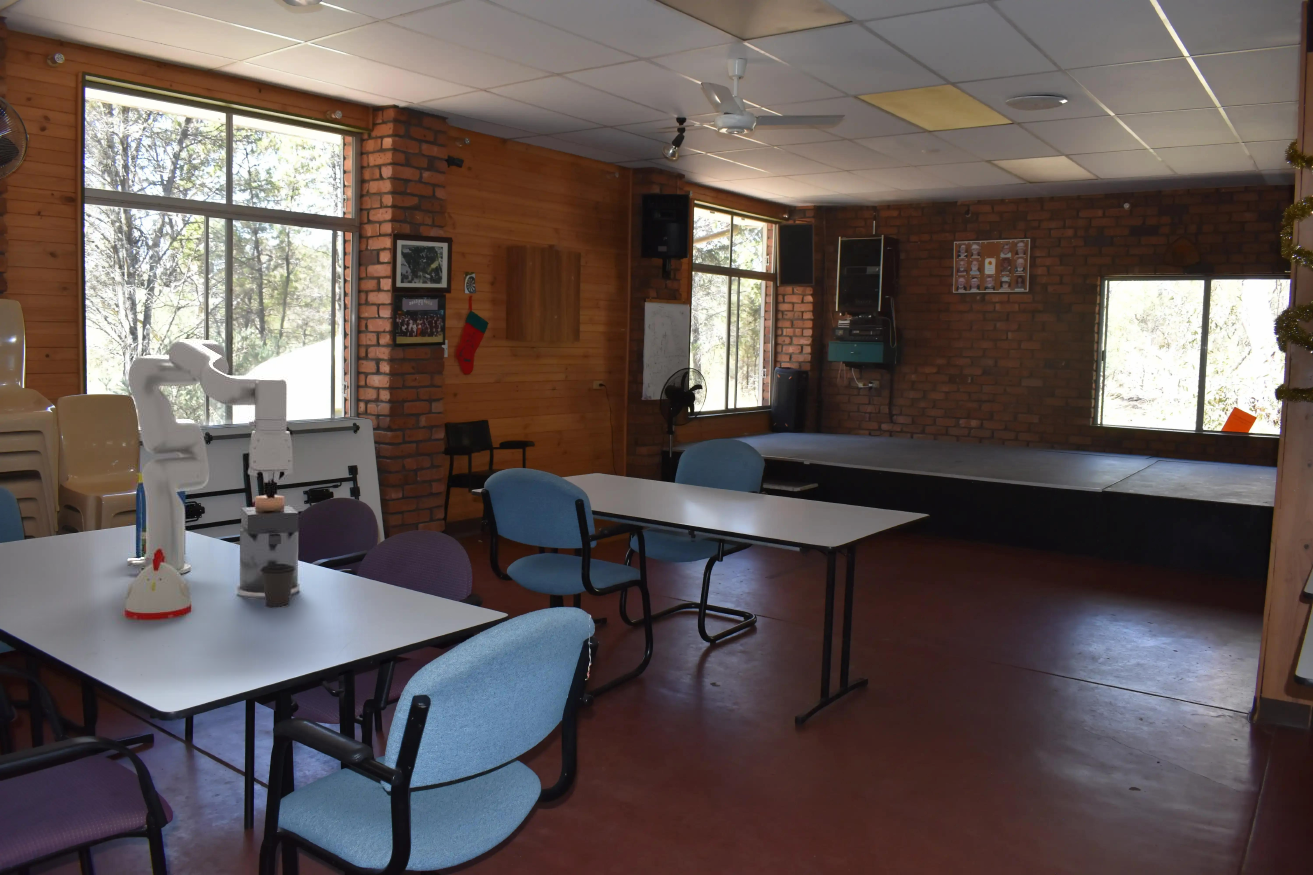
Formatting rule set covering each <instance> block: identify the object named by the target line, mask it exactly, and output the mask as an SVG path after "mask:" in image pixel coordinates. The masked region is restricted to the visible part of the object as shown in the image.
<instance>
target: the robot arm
mask: <svg viewBox="0 0 1313 875" xmlns="http://www.w3.org/2000/svg"><path fill="white" fill-rule="evenodd" d="M228 374H229V363H228V360H227V359H226V352H225V349H224V347H223V346H222V345H221V344H220V343H218V342H216V341H214V340H209V339H207V340H204V339H187V338H185V339H180V340H177V341H175V342H174V343H172V344H171V345H170V346H169V348H168V350H167V355H164V354H162V355H161V354H160V355H159V354H151V355H143V356H140V357H138V358H136V359H135V360H134V361H133V362H132V363H131V364H130V367H129V370H128V374H127V375H128V377H127V379H128V385H129V390H130V392H131V394H132V398H133V399H134V402H135V405H136V410H137V417H138V423H139V424H138V425H139V429H140V435H141V440H142V444H143V447H144V449H145V450H146V451H147V452H148V453H149V454H153V455H154V454H155V455H164V454H179V457H176V456H175V457H166V458H165V457H164V458H158V459H153V460H151V461H149V462H148V463H146V464H145V465H144V467H143V469H142V473H141V474H142V481H143V486H144V490H145V497H146V554H145V557H141V558H128V559H127V567H134V568H135V567H140V568H139V574H140V573H141V572H142V571H143V570H144V569H145V568H146V567H148V566H149V565H151V564H153V559H154V553H156V550H157V549H162V552H163V556H165V560H164V563H166V564H168V565H170V566H172V567H173V568H174V569H176V570H177V571H178V572H179V573H180V575H182V574H185V573H188V572H190V571H191V570H192V569H191V568H192V567H191V564H189V563H186V562H185V560H186V559H185V557H186V510H185V509H186V508H185V509H184V505H183V502H182V501H181V499H180V498H179V496H178V494H177V492H180V491H185V492H186V491H194V490H199V489H202V488H203V487H205V486H207V484H208V482H209V478H210V469H209V467H210V466H209V461H208V454H207V449H206V448H207V447H206V442H205V438H204V434H203V431H202V428H201V426H200V425H199V424H198V423H197V422H196V421H194V420H192V419H188V418H175V417H174V414H173V408H172V403H171V401H170V399H169V397H168V396H167V395H166V393H165V392H164V391H162V390H161V389H160V387H188V386H190V387H191V386H194V385H197V384H198V383H199V384H200V387H201V390H202V391H203V393H204V394H205V395H206V396H208V397H209V398H211V399H212V400H213V401H216V402H218V403H220V404H222V405H226V406H254V420H252V421H248V427H249V428H253V429H254V430H253V431H252V432H251V436H250V441H249V450H248V470H247V474H248V475H249V476H255V477H258V478H259V479H261V481H262V482H263V496H264V495H266V497H267V498H270V497H272V498H275V495H278V482H279V480H281V479H282V478H283V477H284V476H287V475H292V474H293V473H294V471H293V461H294V460H293V445H292V444H293V443H292V438H291V437H292V436H291V433H290V432H291V431H287V393H288V392H287V391H288V389H287V388H288V387H287V382H286V380H285V379H284V378H278V377H263V376H257V375H256V376H255V375H254V376H250V375H228ZM271 471H272V476H271V479H270V478H269V473H268V472H271Z"/></svg>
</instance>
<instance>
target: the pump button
mask: <svg viewBox="0 0 1313 875" xmlns="http://www.w3.org/2000/svg"><path fill="white" fill-rule="evenodd" d="M284 506H285V496H283V495H278V494H275V498H272V497H270V498H267V497H266V494H265V495H264V494H263V495H257V496H255V497H254V507H255V509H256V510H261V511H276V510H282V509H284Z"/></svg>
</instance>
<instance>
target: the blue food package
mask: <svg viewBox="0 0 1313 875" xmlns="http://www.w3.org/2000/svg"><path fill="white" fill-rule="evenodd" d="M135 493H136V494H135V556H136V557H137V558H138V559H141V557H145V554H146V497H145V490H144V486H143V481H142V473H138V484H137V488H136V492H135ZM177 494H178V496H179V498H180V499H181V501H182V502H183V505H184V509H185V511H187V510H186V502H187V501H186V491H180V492H177Z"/></svg>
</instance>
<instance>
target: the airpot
mask: <svg viewBox="0 0 1313 875" xmlns="http://www.w3.org/2000/svg"><path fill="white" fill-rule="evenodd" d="M240 516H241V524H240V525H241V526H240V527H241V528H240V530H239V585H238V586H237V592H236V593H237V596H239V597H241V598H245V599H251V600H265V591H264V582H263V573H262V572H261V571H260V570H261V569H262V567H265V566H268V565H271V564H287V565H291V566H294V568H295V570H294V572H293V579H292V587H291V595H290V597H292V596H295V595H297V594H299V593H300V591H301V589H300V588H301V586H300V583H299V512H298V511H297V510H296V509H294V507H292V506H291V505H284V509H282V510H276V511H261V510H256V509H255V506H254V507H253V506H250V507H248V506H247V507H241V515H240Z"/></svg>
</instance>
